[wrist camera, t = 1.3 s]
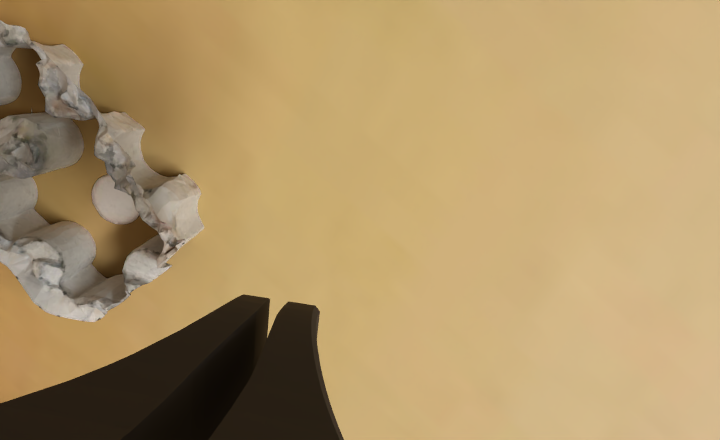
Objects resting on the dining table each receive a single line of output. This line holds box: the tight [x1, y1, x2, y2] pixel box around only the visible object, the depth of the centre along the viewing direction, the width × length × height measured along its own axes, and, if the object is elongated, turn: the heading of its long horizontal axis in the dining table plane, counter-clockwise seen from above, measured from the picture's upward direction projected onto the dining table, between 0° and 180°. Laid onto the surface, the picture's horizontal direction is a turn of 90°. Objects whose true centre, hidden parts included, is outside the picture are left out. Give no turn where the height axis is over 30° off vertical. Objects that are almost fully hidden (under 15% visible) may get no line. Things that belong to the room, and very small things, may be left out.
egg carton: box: [0, 20, 204, 322], centre depth 18 cm, size 11×8×4 cm
